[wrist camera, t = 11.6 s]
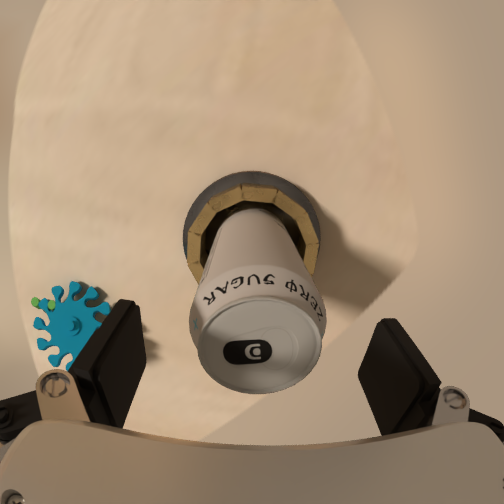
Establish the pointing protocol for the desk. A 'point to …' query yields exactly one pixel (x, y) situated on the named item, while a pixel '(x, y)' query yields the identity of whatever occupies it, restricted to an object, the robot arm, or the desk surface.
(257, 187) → the carrier
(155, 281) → the desk surface
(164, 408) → the desk surface
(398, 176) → the desk surface
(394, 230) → the desk surface
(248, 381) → the energy drink can
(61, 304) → the gear
